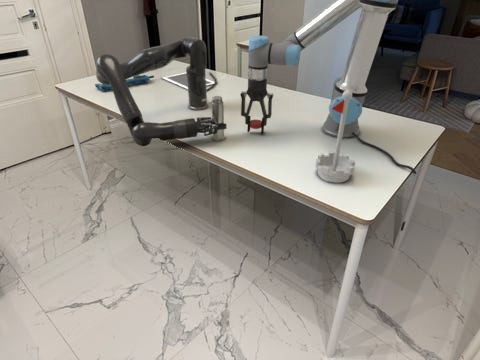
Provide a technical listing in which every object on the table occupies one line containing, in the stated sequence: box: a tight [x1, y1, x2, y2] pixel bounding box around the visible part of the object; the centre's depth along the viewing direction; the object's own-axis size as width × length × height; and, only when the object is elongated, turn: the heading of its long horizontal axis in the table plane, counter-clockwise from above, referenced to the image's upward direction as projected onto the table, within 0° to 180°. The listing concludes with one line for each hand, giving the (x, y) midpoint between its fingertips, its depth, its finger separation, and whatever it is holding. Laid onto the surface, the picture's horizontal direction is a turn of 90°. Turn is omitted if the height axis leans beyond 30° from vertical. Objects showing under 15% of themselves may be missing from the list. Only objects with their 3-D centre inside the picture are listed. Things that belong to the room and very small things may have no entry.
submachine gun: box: [94, 74, 155, 92], centre depth 207 cm, size 34×4×25 cm
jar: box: [210, 95, 225, 142], centre depth 139 cm, size 5×5×18 cm
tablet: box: [161, 71, 218, 91], centre depth 211 cm, size 32×20×1 cm, turn 41°
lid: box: [250, 118, 262, 130], centre depth 145 cm, size 5×6×2 cm
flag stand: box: [315, 90, 356, 183], centre depth 111 cm, size 13×13×30 cm
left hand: (224, 123), depth 141 cm, fingers closed on jar, 5 cm apart
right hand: (255, 131), depth 147 cm, fingers closed on lid, 5 cm apart
